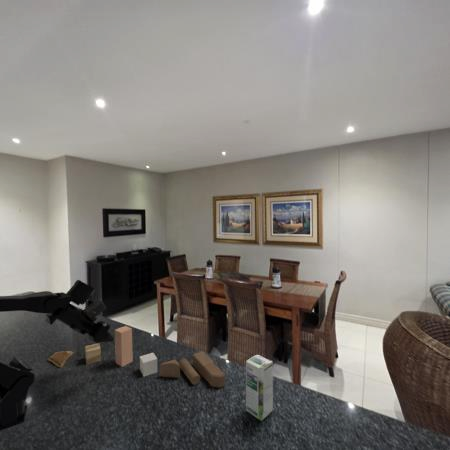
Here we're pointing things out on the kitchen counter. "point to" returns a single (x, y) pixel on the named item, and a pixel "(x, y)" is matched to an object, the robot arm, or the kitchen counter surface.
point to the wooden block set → (201, 365)
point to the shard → (60, 358)
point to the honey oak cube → (93, 353)
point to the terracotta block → (123, 346)
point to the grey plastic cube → (148, 364)
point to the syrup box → (259, 386)
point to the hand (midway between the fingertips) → (106, 336)
